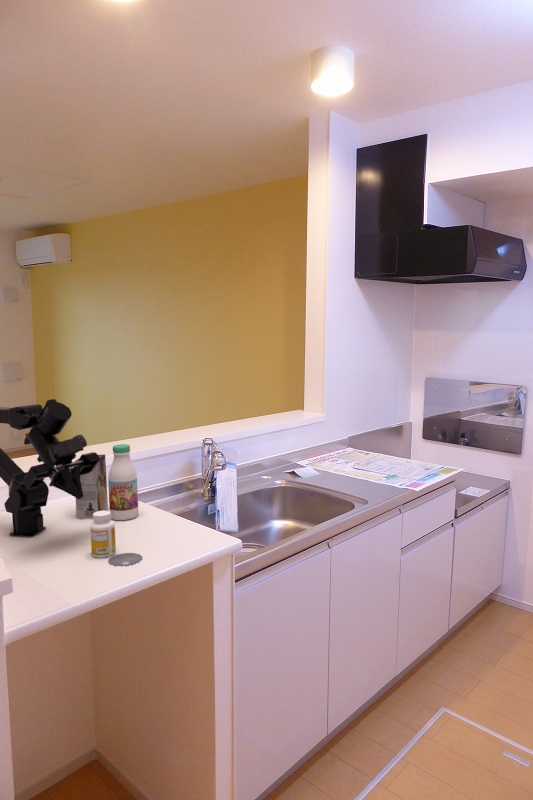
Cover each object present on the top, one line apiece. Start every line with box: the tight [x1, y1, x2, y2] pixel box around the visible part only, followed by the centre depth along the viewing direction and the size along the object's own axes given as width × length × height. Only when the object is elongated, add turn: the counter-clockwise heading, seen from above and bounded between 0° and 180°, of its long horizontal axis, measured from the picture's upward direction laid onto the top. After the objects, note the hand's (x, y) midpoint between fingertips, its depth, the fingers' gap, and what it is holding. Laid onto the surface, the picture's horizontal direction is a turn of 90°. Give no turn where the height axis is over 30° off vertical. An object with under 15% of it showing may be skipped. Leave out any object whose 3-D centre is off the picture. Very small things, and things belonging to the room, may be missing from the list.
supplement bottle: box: [89, 510, 117, 559], centre depth 135 cm, size 5×5×10 cm
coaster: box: [107, 552, 143, 568], centre depth 132 cm, size 8×8×1 cm
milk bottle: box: [107, 443, 139, 521], centre depth 161 cm, size 8×8×20 cm
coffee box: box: [73, 454, 109, 519], centre depth 164 cm, size 9×6×16 cm
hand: (81, 497), depth 137 cm, fingers closed
